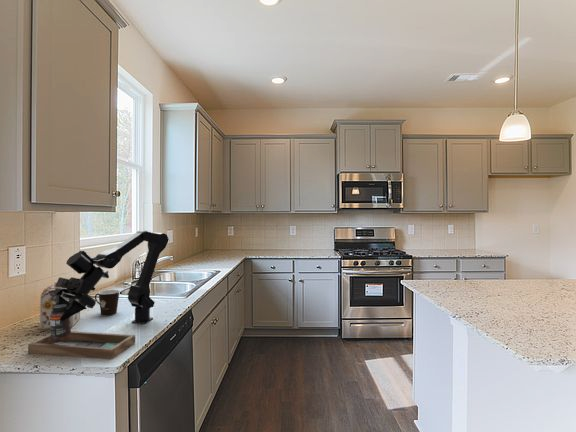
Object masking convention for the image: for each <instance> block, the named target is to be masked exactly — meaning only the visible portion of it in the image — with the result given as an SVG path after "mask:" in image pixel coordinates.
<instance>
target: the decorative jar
mask: <svg viewBox="0 0 576 432" xmlns="http://www.w3.org/2000/svg"><path fill="white" fill-rule="evenodd" d="M57 281H58V280H54V284H51V285H48V286H45V287H44V288H43V290H42V293H41V294H40V308H39V309H40V310H39V311H40V312H39V313H40V314H39V316H40V317H39V327H40V328H39V329H40V330H50V314H51V313H52V311H53V307H54V306H55V305H56V302H57V298H56V296H55V294H54V293H53V291H54V290H55V289H56V288H62V287H58V286H55V285H56V283H57ZM65 289H66V288H65ZM69 303H70V302H69ZM80 319H81V311H80V312H78V313H76V314H74V315H72V316H71V317H70V321H71V328H72V327H74V326H75V325H76V323H77V322H79V320H80Z"/></svg>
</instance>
